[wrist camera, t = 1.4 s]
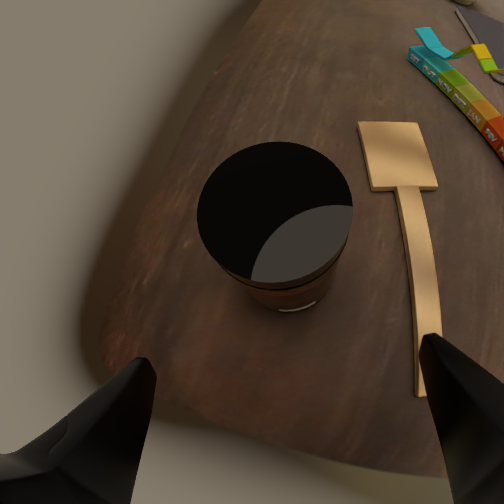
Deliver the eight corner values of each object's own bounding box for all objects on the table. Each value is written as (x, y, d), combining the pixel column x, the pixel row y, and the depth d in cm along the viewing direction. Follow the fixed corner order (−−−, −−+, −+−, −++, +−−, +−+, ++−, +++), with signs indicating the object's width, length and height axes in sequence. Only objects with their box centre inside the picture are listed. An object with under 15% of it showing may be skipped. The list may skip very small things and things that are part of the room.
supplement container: (315, 214, 24) (315, 124, 14) (348, 295, 21) (380, 248, 11) (233, 243, 24) (183, 171, 14) (259, 327, 22) (218, 306, 12)
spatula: (460, 386, 17) (465, 387, 16) (388, 399, 18) (392, 401, 17) (415, 127, 25) (417, 121, 24) (356, 126, 26) (357, 119, 25)
